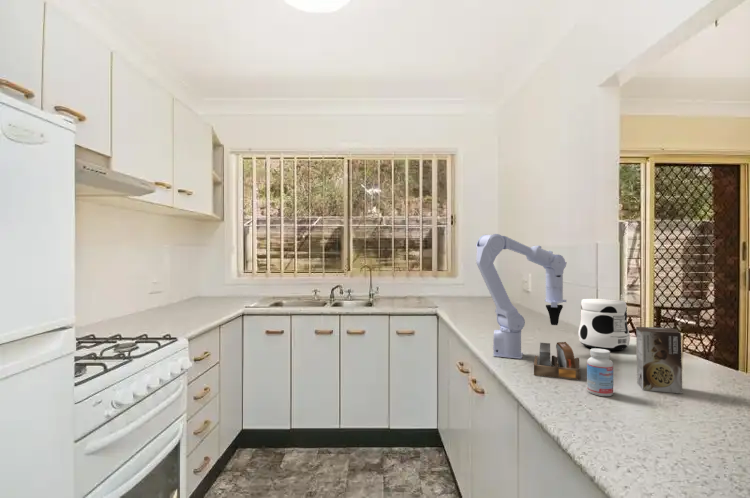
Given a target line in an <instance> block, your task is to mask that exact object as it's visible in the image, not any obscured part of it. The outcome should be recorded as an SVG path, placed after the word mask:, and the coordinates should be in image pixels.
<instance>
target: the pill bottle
mask: <svg viewBox="0 0 750 498" xmlns="http://www.w3.org/2000/svg"><path fill="white" fill-rule="evenodd" d="M589 354H590V357H589V358H587V361H586V385H587V386H586V390H587V392H588V393H589V394H591V395H596V396H598V397H611V396H613V395H614V363H613V361H612V360H611V359H610V358H611V350H605V349H598V348H591V349H589Z"/></svg>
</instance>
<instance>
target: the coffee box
mask: <svg viewBox="0 0 750 498" xmlns="http://www.w3.org/2000/svg"><path fill="white" fill-rule="evenodd" d="M635 328H636V329H635V330H636V331H635V332H636V337H635V338H636V339H635V340H636V341H635V342H636V384H637V385H638V386H639V388H640V389H641V390H642V391H647V392H648V391H649V392H659V393H662V392H663V393H671V394H683V371H682V369H683V368H682V333H681V332H680V331H678V330H677V329H675V328H673V327H670V328H669V327H650V326H649V327H647V326H636V327H635Z"/></svg>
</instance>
